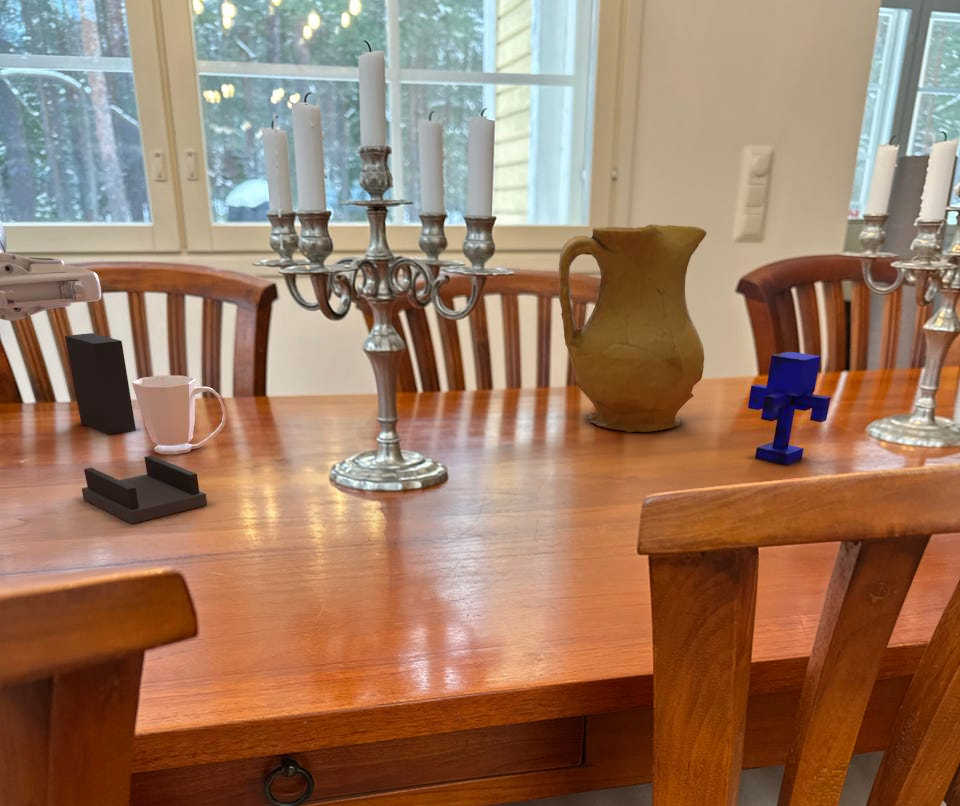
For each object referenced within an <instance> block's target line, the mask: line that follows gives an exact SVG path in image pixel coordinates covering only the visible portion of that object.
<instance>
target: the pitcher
mask: <svg viewBox="0 0 960 806" xmlns="http://www.w3.org/2000/svg"><path fill="white" fill-rule="evenodd" d="M591 230H592V236H591V237H590V236H588V235H576V236H573V237H571V238H569V239H567V241H566V242H565V243H564V245H563V246H562V248H561V251H560V254H559V262H558V281H559V282H558V285H559V286H558V299H559V300H558V301H559V305H560V308H561V313H560V315H561V320H562V327H563V339H564V345H565V347H566V348H567V352H568V354H569V358H570V361H571V365H572V366H571V367H572V368H573V369H572V370H573V373H574V380H575V384H576V386H577V387H578V389H580V391H581V392H582V393H583V394H584V395H585V396H586V397H587V399H588V400H589V401H590V402H591V403H592V405H594V408H595V410H596V411H594V412H592V413H590V414H589V416H588V417H587V419H589V423H590V424H591V423H592V424H593V425H596V426H598V427H601V428H606V429H610V430H616V431H624V432H626V433H633V432H642V433H649V432H655V431H656V432H657V431H663V430H668V429H673V428H675V427H677V428H678V426H680V424H681V421H680V419H678V418H676V416H677V414H678V412H679V411H680V410H681V409H682V408H683V407H684V406H685V404H686V403H688V402H689V401H690V400H691V399H692V398H694V394H693V393H692V392H693V388H694V387H695V385H697V384H698V383H699V382H700V381H701V380H702V378H703V373H704V368H705V363H704V362H705V351H704V345H703V342H702V340H701V338H700V335H699V332H698V330H697V328H696V326H695V324H694V322H693V320H692V317H691V315H690V313H689V309H688V304H687V303H688V302H687V297H686V277H687V272H688V267H689V263H690V260H691V259H692V256H693V254H695V252H696V251H697V249H698V247H699V246H700V244H701V242H702V241H703V240H704V239H705V237H706V236H707V231H706V230H705V229H704V228H701V227H698V226H690V225H689V226H686V225H672V224H669V225H667V224H666V225H661V224H653V223H652V224H647V225H645V226H636V227H628V226H627V227H626V226H624V227H623V226H621V227H620V226H604V227H603V226H602V227H601V226H600V227H596V226H594V227H592V229H591ZM581 255H588V256H592V257H593V258H594V259H595V261H596V263H597V266H598V268H599V272H600V279H599V280H600V281H599V288H598V292H597V297H596V301H595V304H594V307H593V310H592V312H591V314H590V316H589V317H588V319H587V321H586V322H585V324H584V325H583V326H582V327H581V328H577V327H576V323H575V318H574V312H573V307H572V294H571V288H570V287H571V286H570V272H571V266H572V263H574V261H575V260H576V259H577V257H579V256H581Z"/></svg>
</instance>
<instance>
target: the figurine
mask: <svg viewBox="0 0 960 806" xmlns="http://www.w3.org/2000/svg"><path fill="white" fill-rule="evenodd" d="M820 363H821V355H816V354H815V355H813V354H808V353H800V352H793V351H785V352H781V353H775V354H771V357H770V362H769V369H768V375H767V381H766V385H763V384H759V383H758V384H753V385H751V386H750V392H749V398H748V404H747V409H749V410H755V411H760V410H761V415H760V416H761V417H760V420H762V421H766V422H773V421H776V425H775V430H774V438H773V441H771V442H768V443H765V444H762V445H760V446H756V450H755V456H754V459H756V460H761V461H765V462H769V463H773V464H778V465H782V466H787V465H790V464H793V463H796V462H798V461H800V460H802V459H803V454H804V449H805V448H804V447H800V446H797V445H791V444H790V439H791V433H792V429H793V422H794V417H795V412H796V410H797V411H802V412H807V411H810V410H811V411H810V417H809V421H811V422H816V423H824V422H826V421H827V419H828V414H829V410H830V409H829V408H830V403H831V398H832V396H828V395H827V396H826V395H821V394H814V392H815V390H816V384H817V379H818V375H819V369H820Z"/></svg>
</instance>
